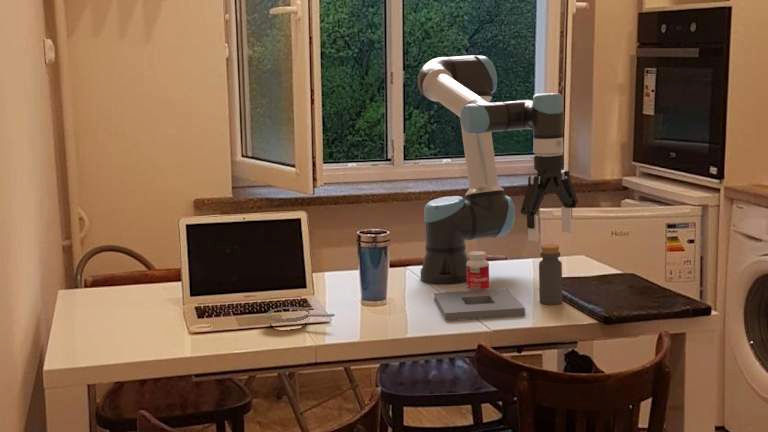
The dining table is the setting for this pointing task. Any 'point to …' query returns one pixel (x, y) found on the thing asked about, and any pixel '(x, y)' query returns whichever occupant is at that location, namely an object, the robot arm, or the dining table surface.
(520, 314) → the hole plate
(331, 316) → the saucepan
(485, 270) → the pill bottle
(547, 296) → the bottle
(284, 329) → the dining table surface
